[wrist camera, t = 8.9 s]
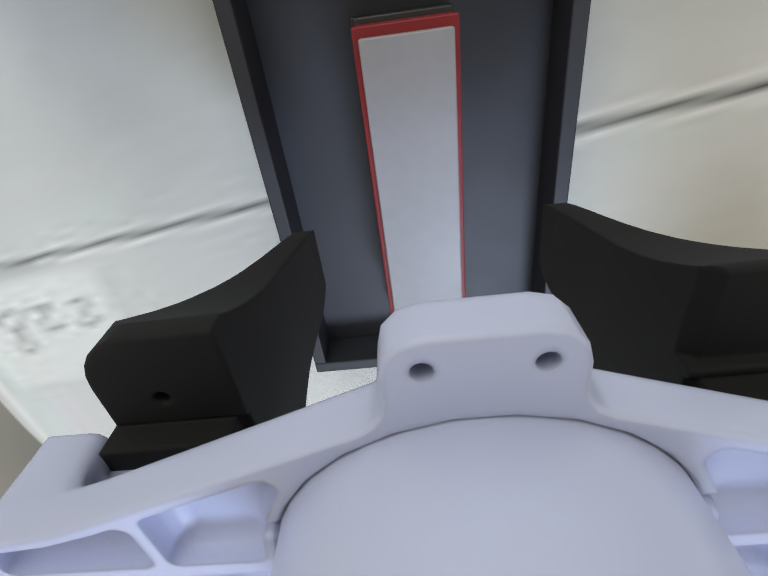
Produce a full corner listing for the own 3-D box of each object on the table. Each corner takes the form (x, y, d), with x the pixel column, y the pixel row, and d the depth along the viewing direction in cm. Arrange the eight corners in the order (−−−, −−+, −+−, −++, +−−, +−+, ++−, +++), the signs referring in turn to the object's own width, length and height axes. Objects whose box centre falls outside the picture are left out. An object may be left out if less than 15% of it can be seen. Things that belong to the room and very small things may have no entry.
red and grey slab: (458, 296, 23) (472, 353, 19) (390, 302, 23) (392, 360, 19) (449, 2, 16) (468, 3, 12) (351, 17, 16) (340, 21, 12)
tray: (536, 322, 24) (550, 351, 22) (322, 342, 25) (317, 372, 23) (574, -107, 14) (606, -125, 12) (220, -52, 15) (194, -60, 13)
